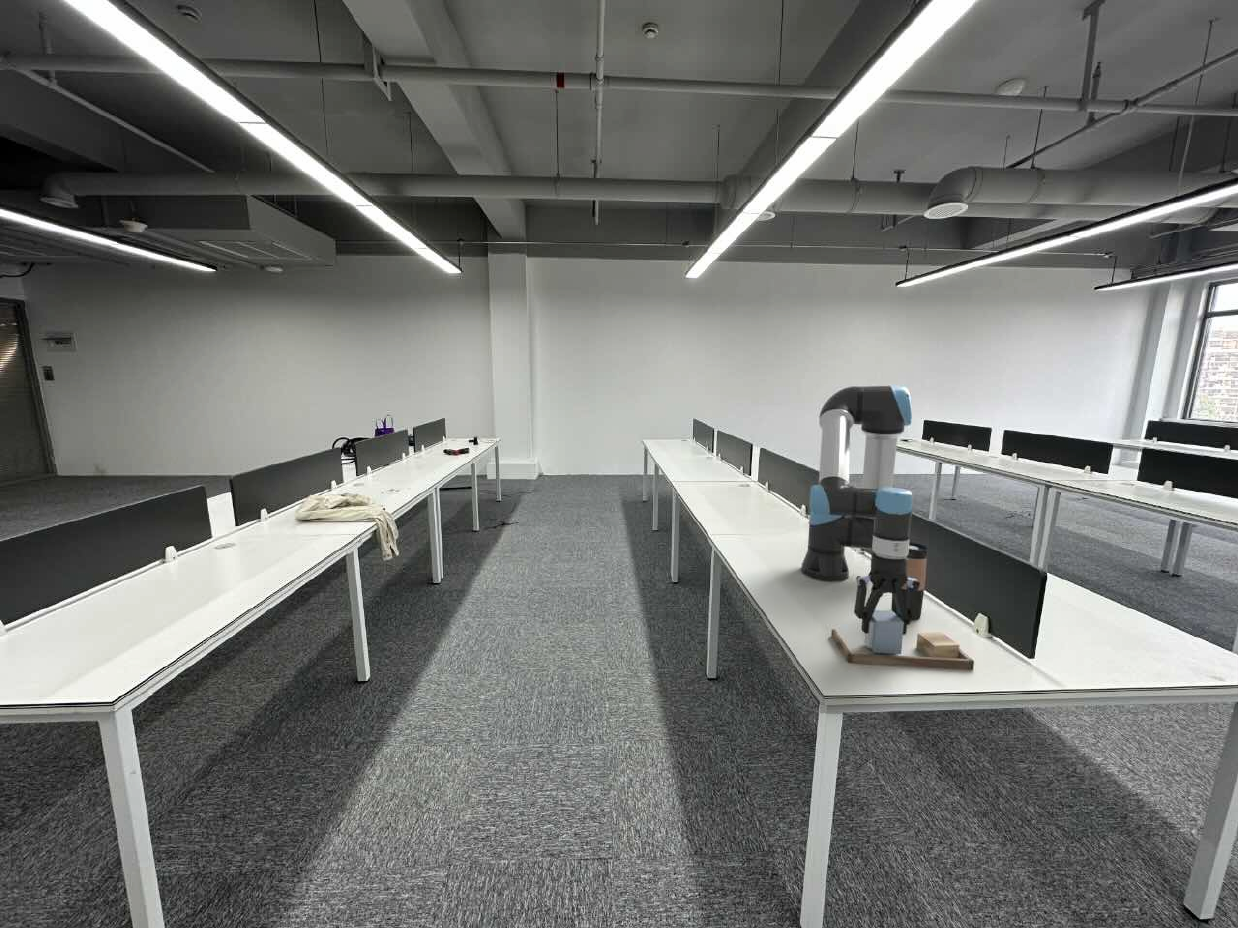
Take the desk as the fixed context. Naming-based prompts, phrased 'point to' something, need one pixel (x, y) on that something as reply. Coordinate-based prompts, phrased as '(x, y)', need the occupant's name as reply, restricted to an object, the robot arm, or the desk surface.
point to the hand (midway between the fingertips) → (882, 645)
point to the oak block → (937, 645)
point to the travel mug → (914, 575)
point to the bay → (903, 658)
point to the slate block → (887, 632)
